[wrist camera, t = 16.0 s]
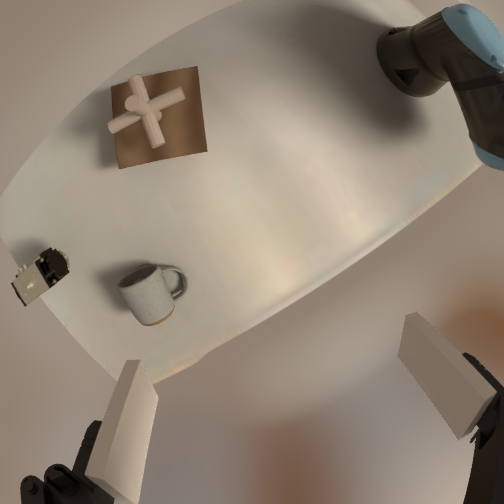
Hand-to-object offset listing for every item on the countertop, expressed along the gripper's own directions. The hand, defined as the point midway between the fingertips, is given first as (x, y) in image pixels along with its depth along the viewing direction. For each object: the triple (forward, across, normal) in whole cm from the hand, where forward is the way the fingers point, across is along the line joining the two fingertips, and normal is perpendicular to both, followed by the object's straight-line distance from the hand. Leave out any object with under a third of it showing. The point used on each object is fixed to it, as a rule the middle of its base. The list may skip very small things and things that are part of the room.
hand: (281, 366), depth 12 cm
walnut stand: (+34, -10, +18) cm, 39 cm away
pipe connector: (+29, -10, +18) cm, 35 cm away
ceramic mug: (+34, -16, -9) cm, 38 cm away
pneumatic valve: (+33, -35, -2) cm, 49 cm away
